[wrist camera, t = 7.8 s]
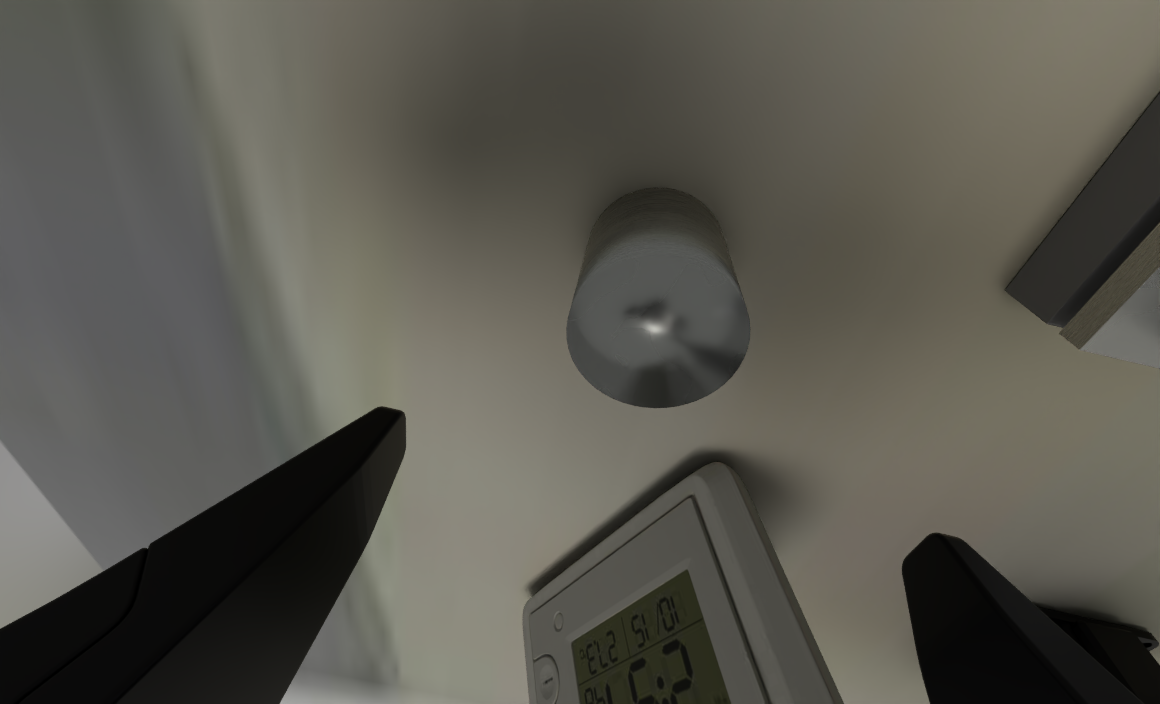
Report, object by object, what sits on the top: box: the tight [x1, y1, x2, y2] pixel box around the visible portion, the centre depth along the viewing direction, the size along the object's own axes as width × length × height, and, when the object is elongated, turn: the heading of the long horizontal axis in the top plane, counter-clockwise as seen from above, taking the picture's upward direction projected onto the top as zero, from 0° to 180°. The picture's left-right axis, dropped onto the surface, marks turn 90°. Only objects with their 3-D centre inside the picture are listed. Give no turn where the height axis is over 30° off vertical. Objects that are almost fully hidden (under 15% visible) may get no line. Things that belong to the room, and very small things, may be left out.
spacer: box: [567, 188, 750, 408], centre depth 14 cm, size 4×4×5 cm
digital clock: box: [523, 462, 844, 704], centre depth 21 cm, size 16×9×11 cm, turn 135°
